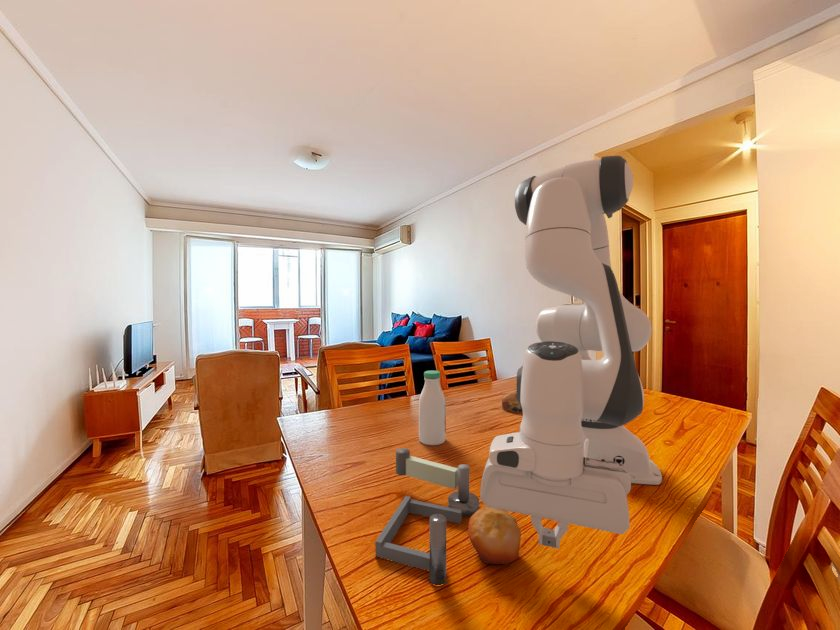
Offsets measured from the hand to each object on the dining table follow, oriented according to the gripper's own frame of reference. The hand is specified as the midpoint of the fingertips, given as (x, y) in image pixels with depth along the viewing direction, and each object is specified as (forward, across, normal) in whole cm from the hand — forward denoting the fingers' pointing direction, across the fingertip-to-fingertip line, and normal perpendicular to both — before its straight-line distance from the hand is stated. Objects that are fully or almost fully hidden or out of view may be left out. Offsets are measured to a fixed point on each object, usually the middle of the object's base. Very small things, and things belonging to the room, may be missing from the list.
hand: (548, 544), depth 50 cm
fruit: (+4, +8, 0) cm, 9 cm away
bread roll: (+4, +10, -76) cm, 76 cm away
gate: (+2, +22, -12) cm, 25 cm away
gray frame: (+4, +20, 0) cm, 20 cm away
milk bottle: (+4, +30, -39) cm, 49 cm away
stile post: (+4, +15, +7) cm, 17 cm away
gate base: (+4, +15, -11) cm, 19 cm away
